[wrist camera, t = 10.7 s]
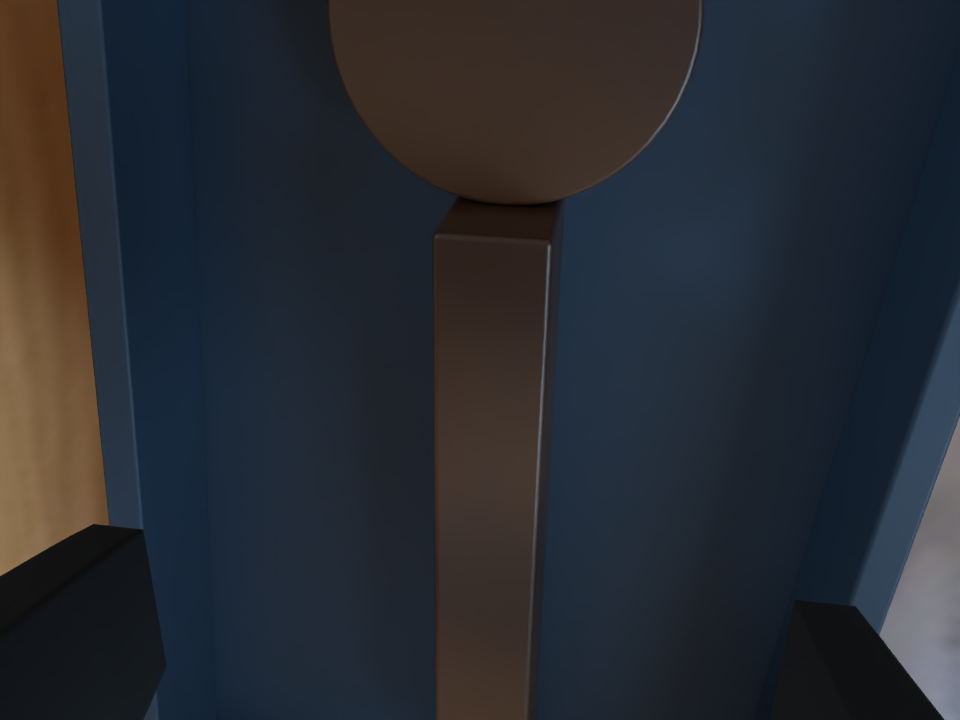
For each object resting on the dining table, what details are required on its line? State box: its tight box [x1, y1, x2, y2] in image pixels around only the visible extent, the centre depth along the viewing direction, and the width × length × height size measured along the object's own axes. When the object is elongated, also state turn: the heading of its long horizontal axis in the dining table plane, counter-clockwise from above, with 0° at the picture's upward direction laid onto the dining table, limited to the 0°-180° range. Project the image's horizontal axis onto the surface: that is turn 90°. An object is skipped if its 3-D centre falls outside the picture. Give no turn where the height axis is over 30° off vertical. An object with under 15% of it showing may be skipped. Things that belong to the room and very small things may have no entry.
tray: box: [57, 0, 960, 720], centre depth 15 cm, size 12×22×3 cm, turn 174°
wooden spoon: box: [327, 0, 705, 720], centre depth 15 cm, size 17×5×3 cm, turn 179°
